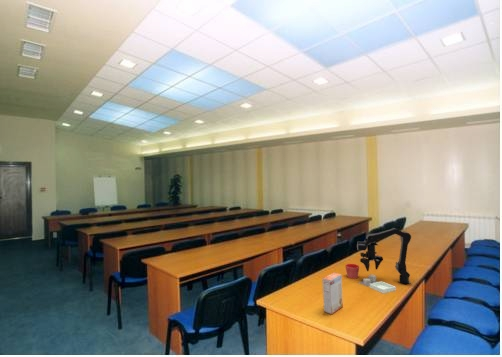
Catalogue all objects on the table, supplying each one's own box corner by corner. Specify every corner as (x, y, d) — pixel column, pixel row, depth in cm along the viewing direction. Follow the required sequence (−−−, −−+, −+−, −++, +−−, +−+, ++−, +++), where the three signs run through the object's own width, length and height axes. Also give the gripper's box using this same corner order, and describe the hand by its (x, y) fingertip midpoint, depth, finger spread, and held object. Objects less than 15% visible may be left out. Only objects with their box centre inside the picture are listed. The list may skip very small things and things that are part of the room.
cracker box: (334, 304, 175) (333, 272, 175) (343, 307, 170) (342, 274, 171) (323, 311, 165) (321, 277, 166) (332, 315, 161) (330, 280, 161)
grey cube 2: (368, 283, 206) (367, 278, 206) (371, 285, 202) (370, 280, 202) (363, 284, 206) (363, 278, 206) (366, 286, 202) (366, 280, 202)
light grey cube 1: (371, 279, 214) (371, 274, 214) (376, 281, 211) (376, 275, 211) (368, 281, 212) (368, 275, 212) (373, 282, 209) (372, 276, 209)
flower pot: (351, 280, 216) (350, 268, 216) (343, 276, 226) (342, 264, 226) (362, 278, 218) (362, 266, 219) (353, 274, 229) (353, 263, 229)
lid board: (370, 279, 217) (370, 278, 217) (381, 283, 206) (381, 282, 206) (356, 282, 211) (356, 280, 211) (367, 287, 201) (367, 285, 201)
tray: (381, 285, 204) (381, 281, 204) (395, 290, 193) (395, 286, 193) (369, 288, 199) (369, 283, 199) (383, 294, 188) (383, 289, 188)
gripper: (372, 247, 223) (372, 265, 222) (354, 249, 216) (355, 269, 215) (383, 249, 213) (384, 269, 212) (365, 252, 205) (366, 273, 205)
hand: (372, 270), depth 211 cm, fingers open, 9 cm apart
